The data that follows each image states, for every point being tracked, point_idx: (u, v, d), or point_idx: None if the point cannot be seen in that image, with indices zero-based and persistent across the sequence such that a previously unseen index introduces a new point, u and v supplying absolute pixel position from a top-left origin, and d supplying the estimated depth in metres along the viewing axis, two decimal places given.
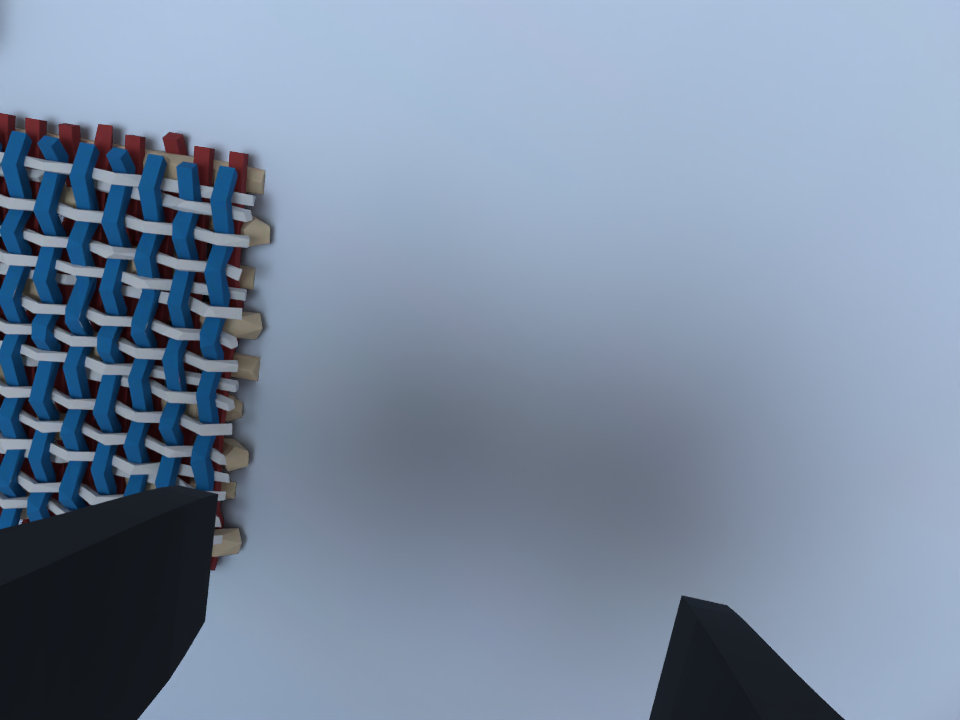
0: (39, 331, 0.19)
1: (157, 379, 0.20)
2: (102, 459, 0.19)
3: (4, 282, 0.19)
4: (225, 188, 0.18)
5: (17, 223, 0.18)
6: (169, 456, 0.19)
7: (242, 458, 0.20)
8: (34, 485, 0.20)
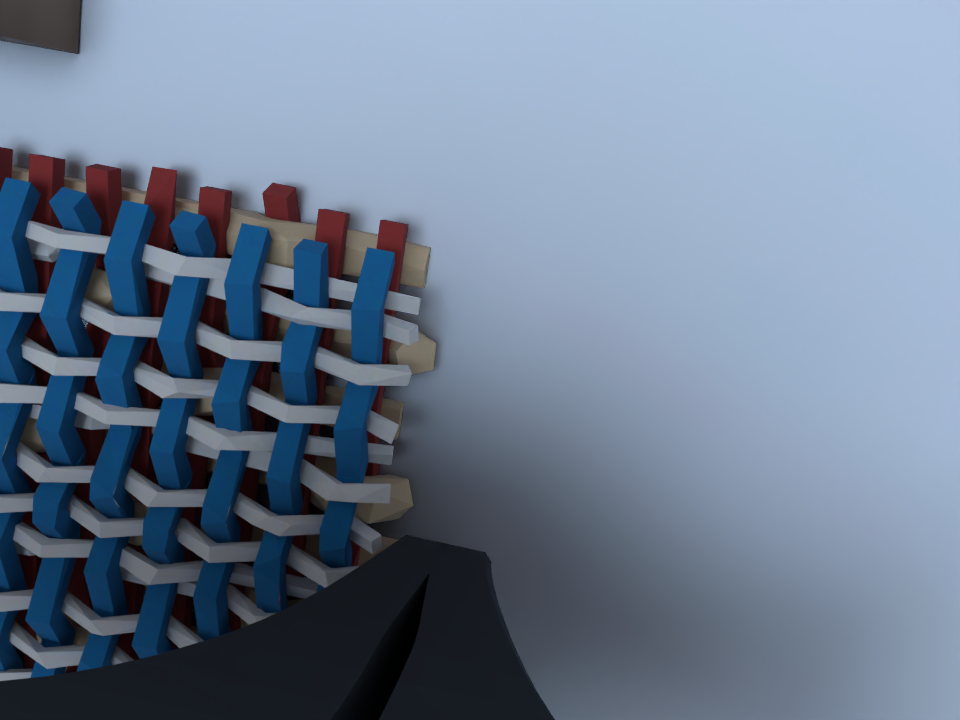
0: (45, 511, 0.11)
1: None
2: None
3: None
4: (377, 289, 0.10)
5: (12, 333, 0.11)
6: None
7: None
8: None
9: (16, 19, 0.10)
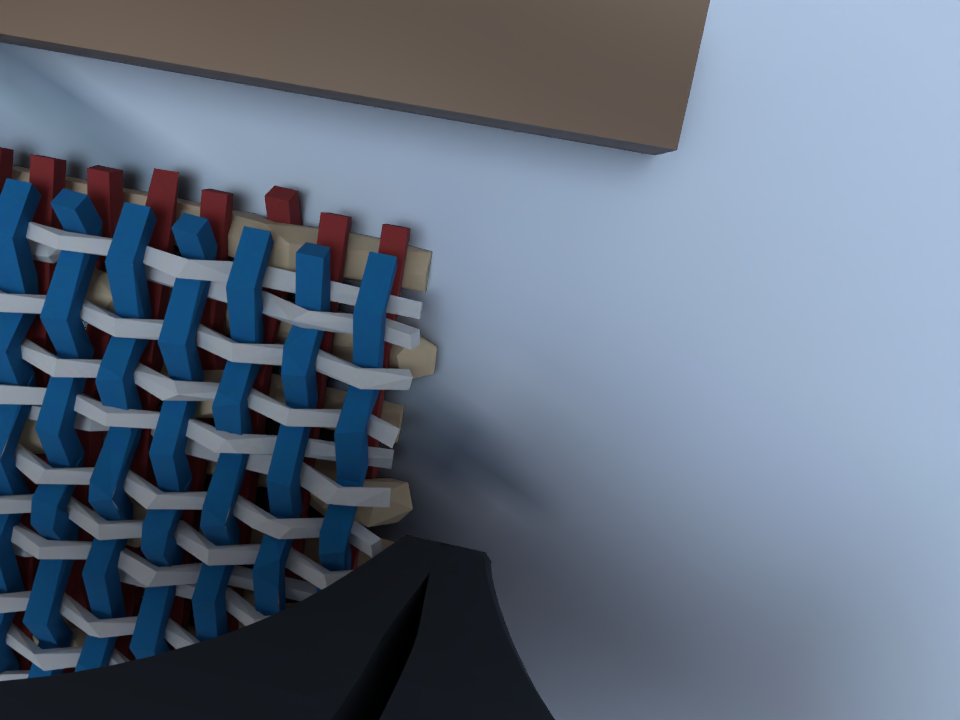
0: (44, 513, 0.11)
1: None
2: None
3: None
4: (380, 294, 0.10)
5: (11, 334, 0.11)
6: None
7: None
8: None
9: None
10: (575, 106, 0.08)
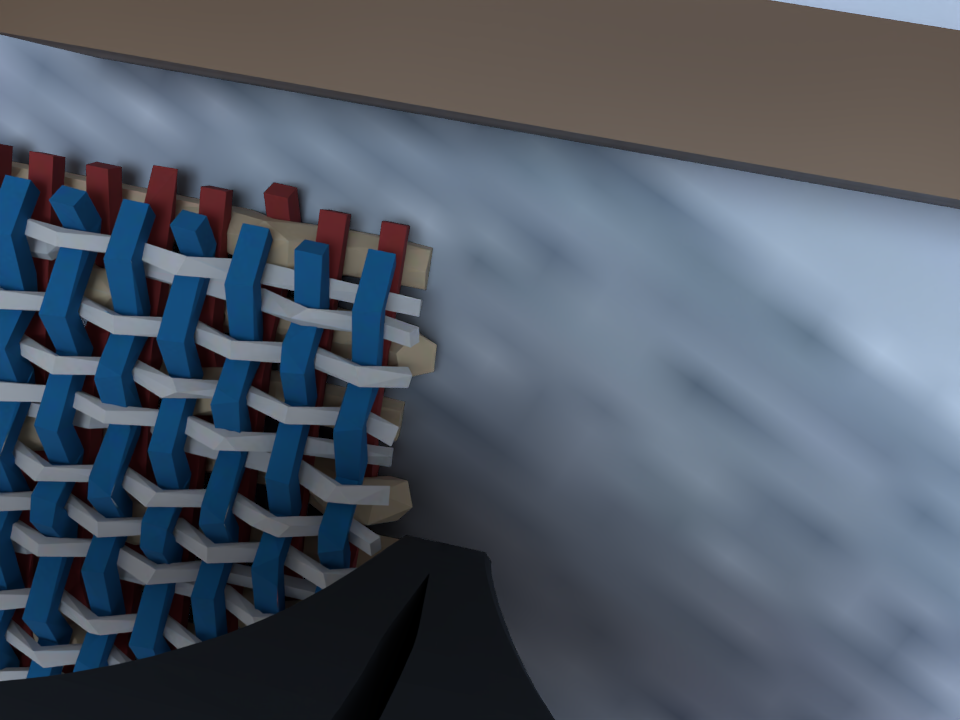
0: (43, 510, 0.11)
1: None
2: None
3: None
4: (378, 291, 0.10)
5: (11, 331, 0.11)
6: None
7: None
8: None
9: None
10: None
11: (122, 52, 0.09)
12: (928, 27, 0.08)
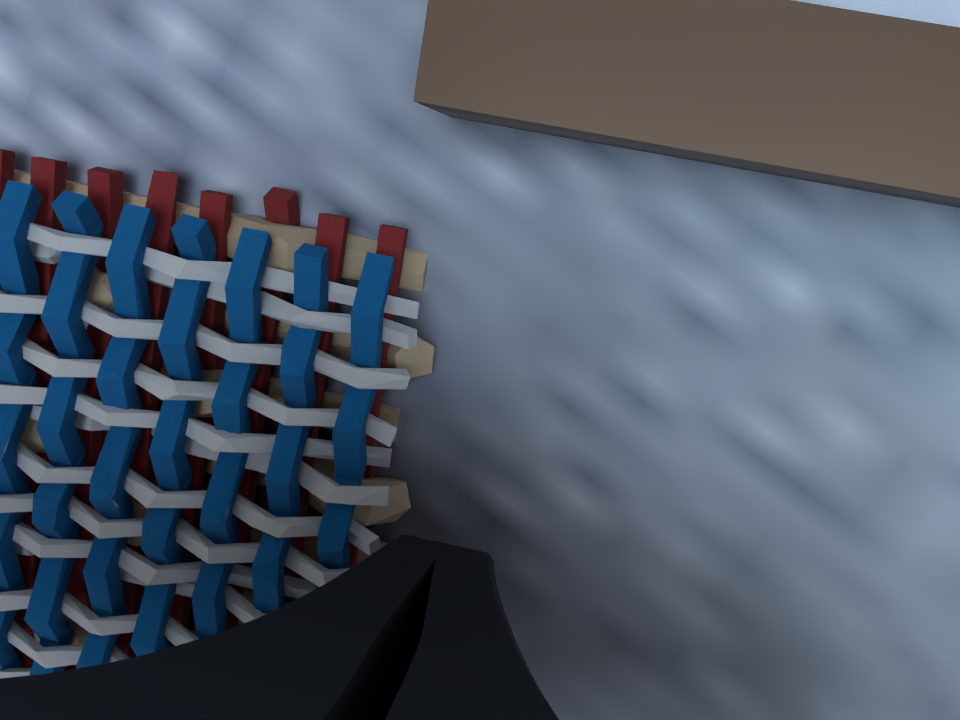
0: (45, 512, 0.11)
1: None
2: None
3: None
4: (376, 294, 0.10)
5: (13, 334, 0.11)
6: None
7: None
8: None
9: None
10: None
11: (586, 130, 0.08)
12: None
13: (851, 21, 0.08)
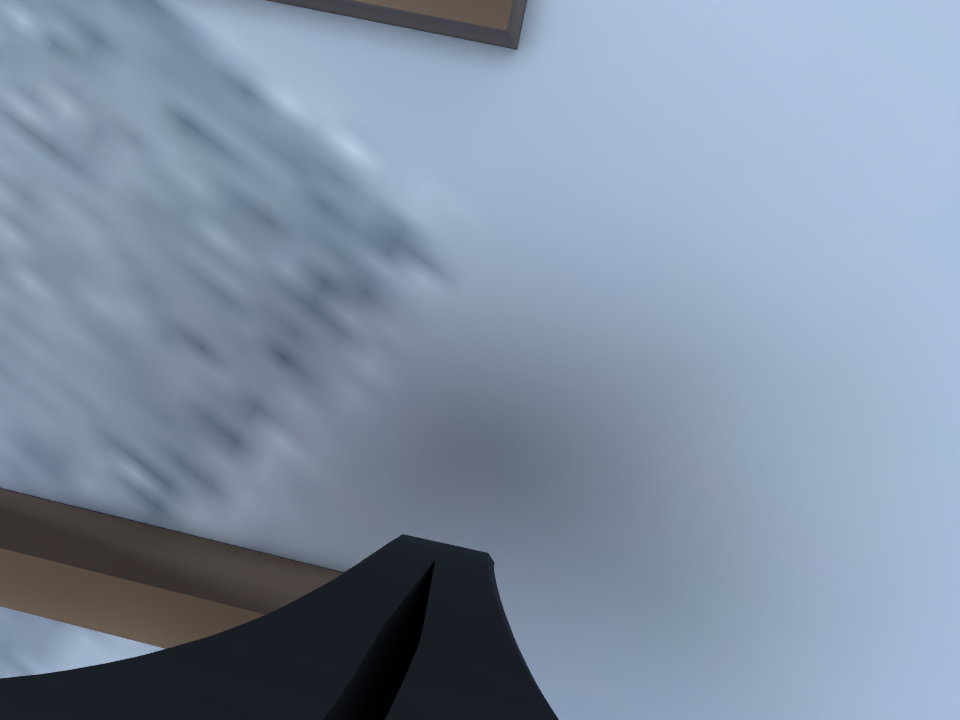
0: None
1: None
2: None
3: None
4: None
5: None
6: None
7: None
8: None
9: (514, 28, 0.16)
10: (452, 5, 0.15)
11: None
12: None
13: None
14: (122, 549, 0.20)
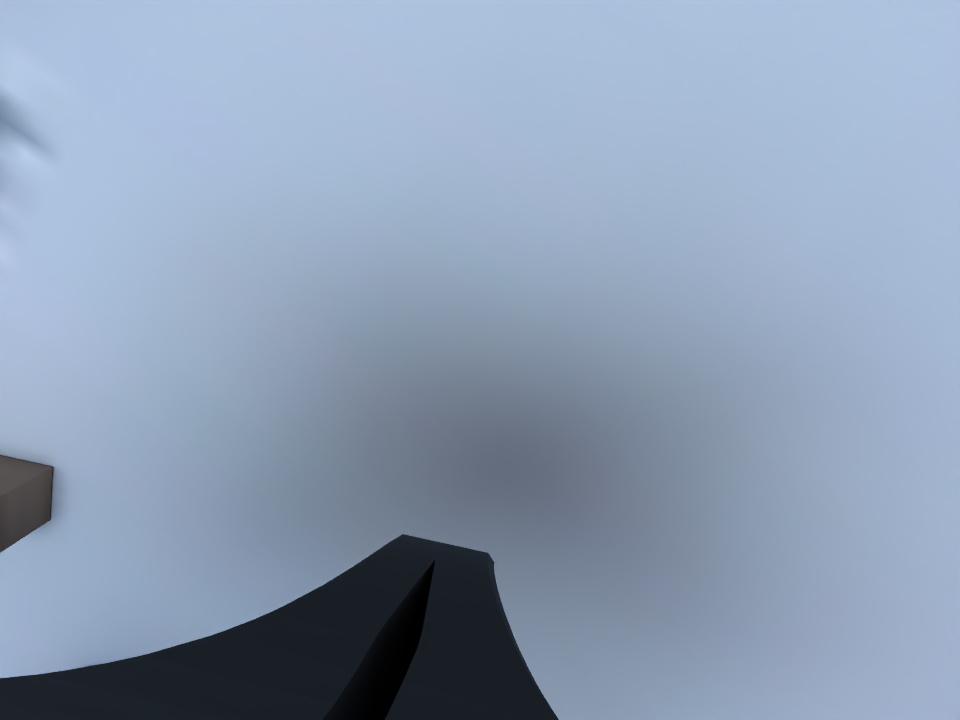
0: None
1: None
2: None
3: None
4: None
5: None
6: None
7: None
8: None
9: None
10: None
11: None
12: None
13: None
14: None
